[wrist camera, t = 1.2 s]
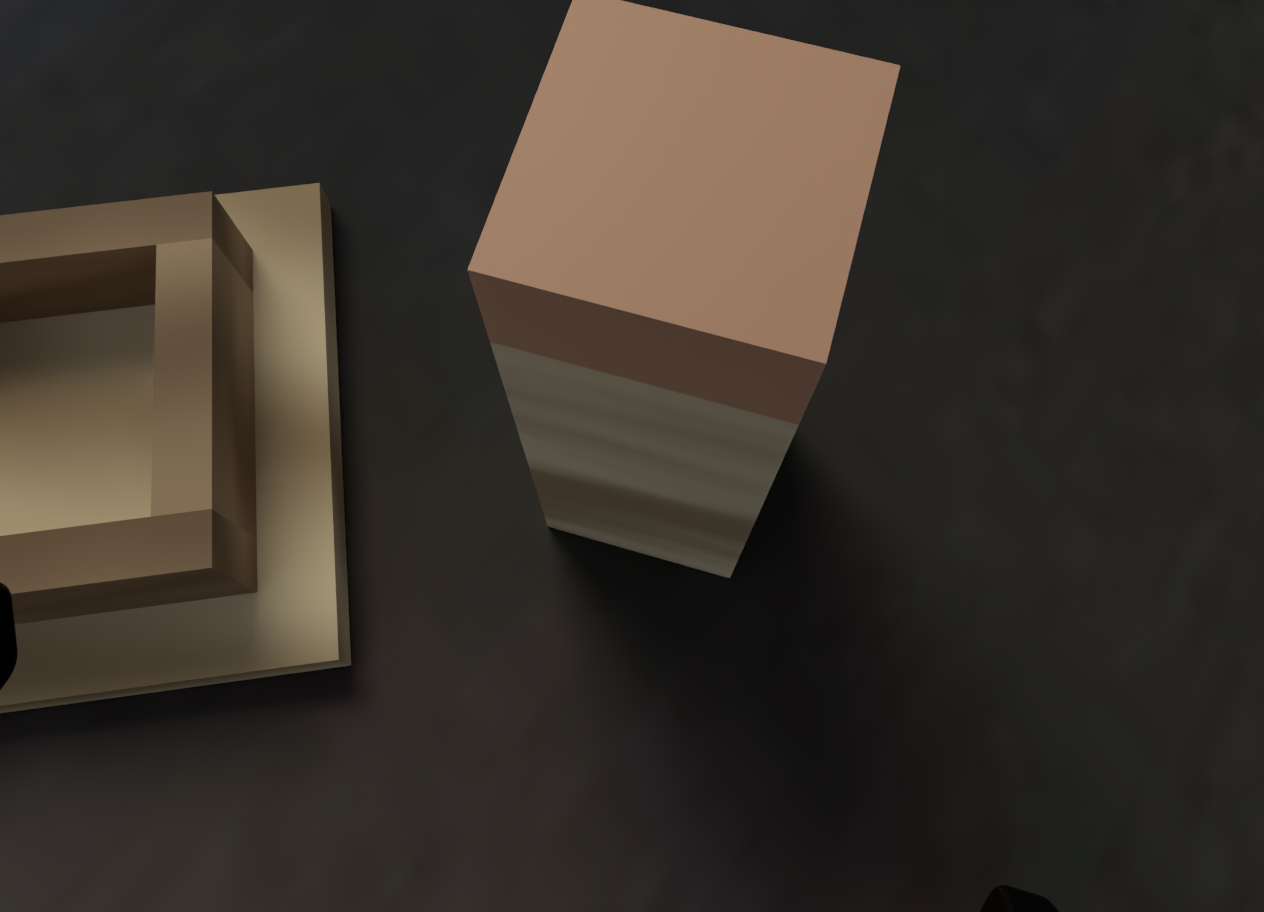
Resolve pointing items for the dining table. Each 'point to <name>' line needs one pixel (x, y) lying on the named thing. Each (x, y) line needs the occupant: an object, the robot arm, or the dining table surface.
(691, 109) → the birch post
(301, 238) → the socket stand
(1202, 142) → the dining table surface
